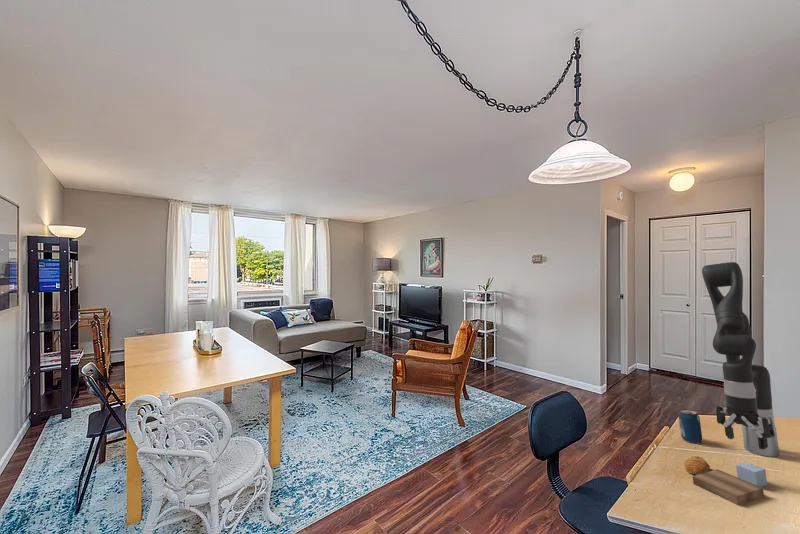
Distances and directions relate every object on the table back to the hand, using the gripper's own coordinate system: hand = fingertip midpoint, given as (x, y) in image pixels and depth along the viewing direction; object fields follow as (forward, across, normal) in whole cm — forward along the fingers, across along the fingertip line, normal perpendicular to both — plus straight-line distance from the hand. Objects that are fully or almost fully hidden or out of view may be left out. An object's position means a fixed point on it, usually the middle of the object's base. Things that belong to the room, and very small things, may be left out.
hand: (746, 443), depth 112 cm
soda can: (+12, +28, -15) cm, 34 cm away
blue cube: (+12, 0, 0) cm, 13 cm away
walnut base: (+13, 0, +12) cm, 17 cm away
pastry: (+13, +11, +7) cm, 19 cm away
